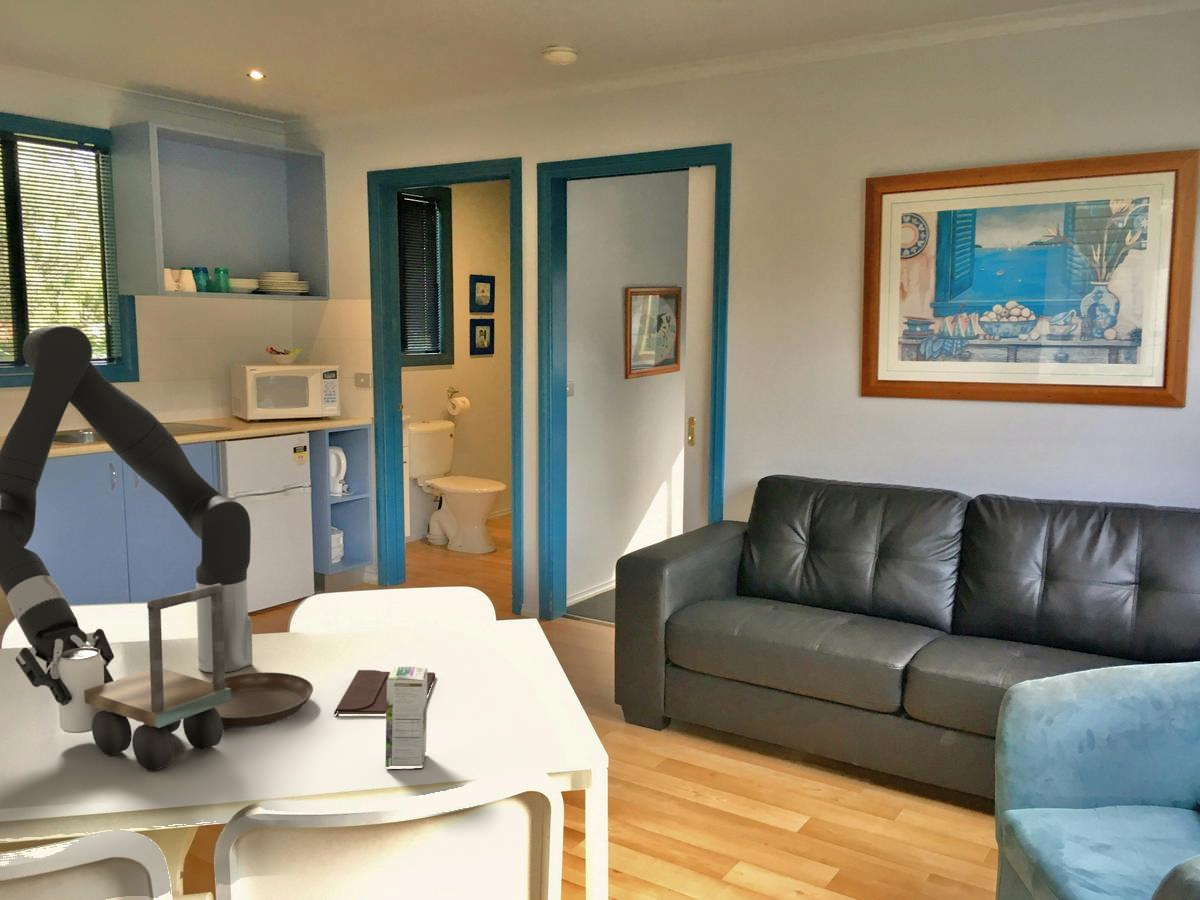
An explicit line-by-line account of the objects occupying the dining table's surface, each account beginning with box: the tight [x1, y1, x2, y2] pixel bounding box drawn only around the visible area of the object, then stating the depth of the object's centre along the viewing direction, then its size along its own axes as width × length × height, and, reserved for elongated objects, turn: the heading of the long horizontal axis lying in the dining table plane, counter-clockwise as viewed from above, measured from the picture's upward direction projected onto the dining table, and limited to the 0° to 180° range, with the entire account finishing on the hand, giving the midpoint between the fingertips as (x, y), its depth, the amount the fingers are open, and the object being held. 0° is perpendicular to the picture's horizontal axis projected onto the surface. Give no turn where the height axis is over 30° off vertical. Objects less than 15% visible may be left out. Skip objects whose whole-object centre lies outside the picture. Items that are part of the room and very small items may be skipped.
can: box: [58, 647, 104, 734], centre depth 163 cm, size 6×6×12 cm
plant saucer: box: [210, 671, 314, 729], centre depth 180 cm, size 21×21×3 cm
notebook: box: [333, 669, 436, 715], centre depth 188 cm, size 15×20×2 cm
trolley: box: [84, 583, 231, 772], centre depth 160 cm, size 18×13×27 cm
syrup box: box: [385, 665, 428, 767], centre depth 159 cm, size 6×6×14 cm
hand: (88, 695), depth 163 cm, fingers closed on can, 6 cm apart
